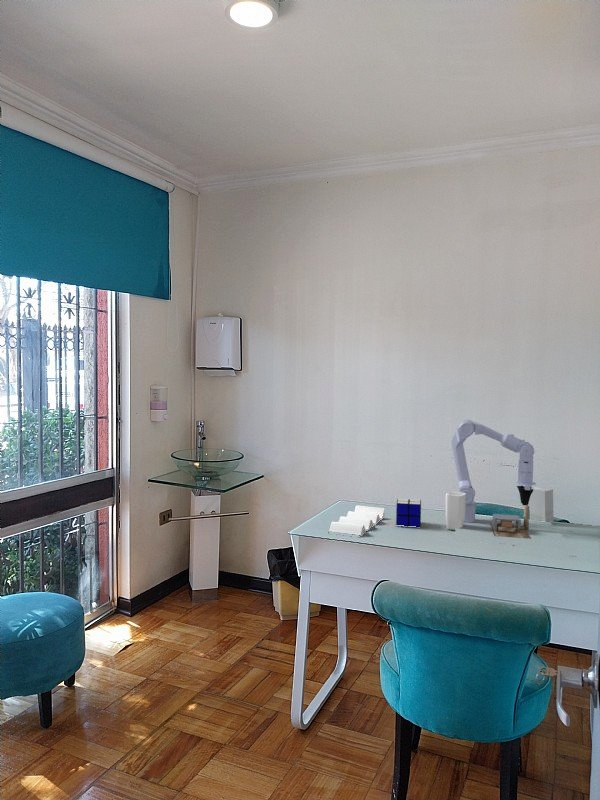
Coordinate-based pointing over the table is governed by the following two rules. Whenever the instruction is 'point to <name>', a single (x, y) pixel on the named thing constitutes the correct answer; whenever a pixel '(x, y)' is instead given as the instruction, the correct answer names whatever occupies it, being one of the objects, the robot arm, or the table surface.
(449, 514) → the cup
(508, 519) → the tunnel
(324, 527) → the table surface
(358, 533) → the white ridged rack
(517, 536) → the deck
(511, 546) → the table surface
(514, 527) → the slider
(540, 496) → the skincare box
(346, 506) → the table surface
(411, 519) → the puzzle cube
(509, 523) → the block
